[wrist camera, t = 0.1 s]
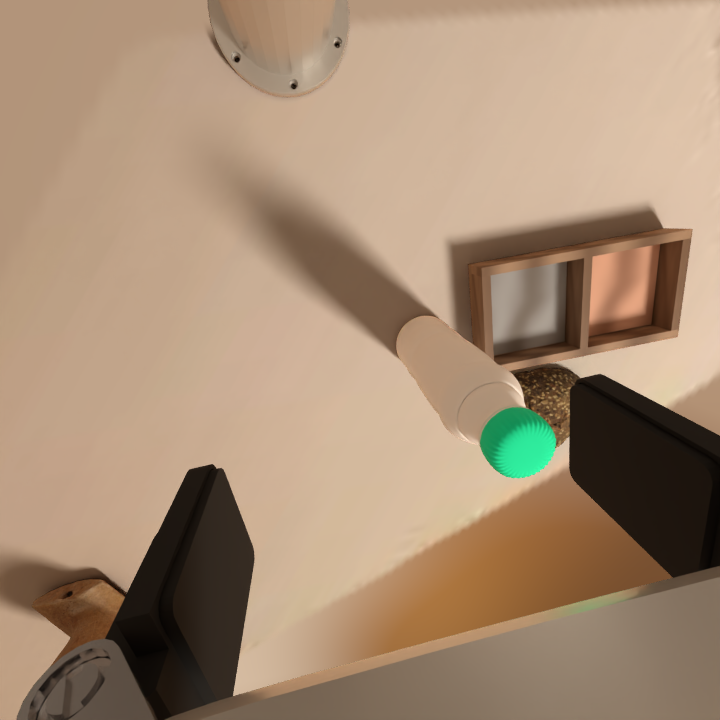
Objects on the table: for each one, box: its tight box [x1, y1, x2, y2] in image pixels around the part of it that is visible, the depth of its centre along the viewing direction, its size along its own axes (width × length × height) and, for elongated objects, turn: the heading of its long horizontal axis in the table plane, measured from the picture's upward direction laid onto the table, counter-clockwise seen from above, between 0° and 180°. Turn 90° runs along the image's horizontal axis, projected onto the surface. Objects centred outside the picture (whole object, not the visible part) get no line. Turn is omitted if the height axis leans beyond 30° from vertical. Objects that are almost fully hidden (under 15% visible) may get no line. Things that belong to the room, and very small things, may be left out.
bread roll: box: [514, 368, 580, 448], centre depth 52 cm, size 13×12×5 cm
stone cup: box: [32, 579, 125, 667], centre depth 50 cm, size 15×12×15 cm
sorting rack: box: [468, 228, 693, 371], centre depth 47 cm, size 25×13×4 cm, turn 99°
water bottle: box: [396, 316, 556, 478], centre depth 37 cm, size 7×7×25 cm
